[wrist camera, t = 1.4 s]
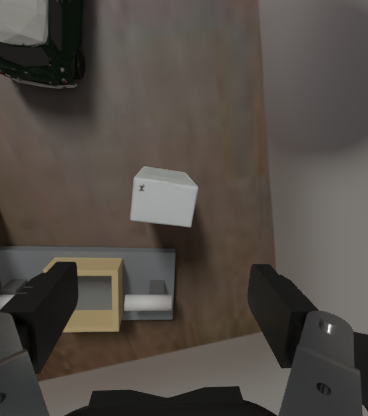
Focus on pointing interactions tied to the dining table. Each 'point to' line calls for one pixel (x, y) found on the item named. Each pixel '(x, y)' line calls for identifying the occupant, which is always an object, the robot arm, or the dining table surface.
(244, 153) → the dining table surface
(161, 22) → the dining table surface
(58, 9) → the miniature car
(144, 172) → the skincare box
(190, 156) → the dining table surface
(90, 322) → the stand
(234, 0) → the dining table surface
